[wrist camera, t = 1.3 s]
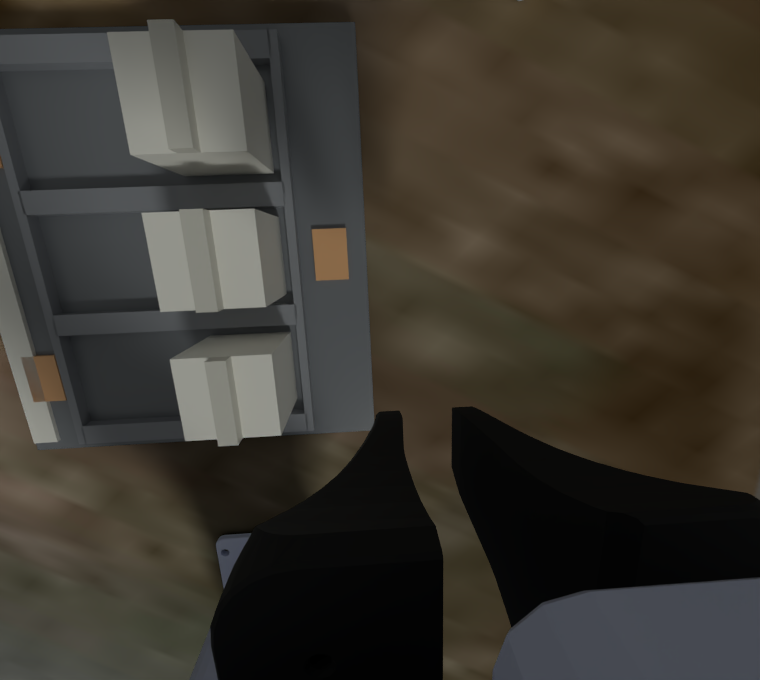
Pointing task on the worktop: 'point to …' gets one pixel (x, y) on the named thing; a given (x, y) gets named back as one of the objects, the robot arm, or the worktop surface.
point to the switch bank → (169, 194)
